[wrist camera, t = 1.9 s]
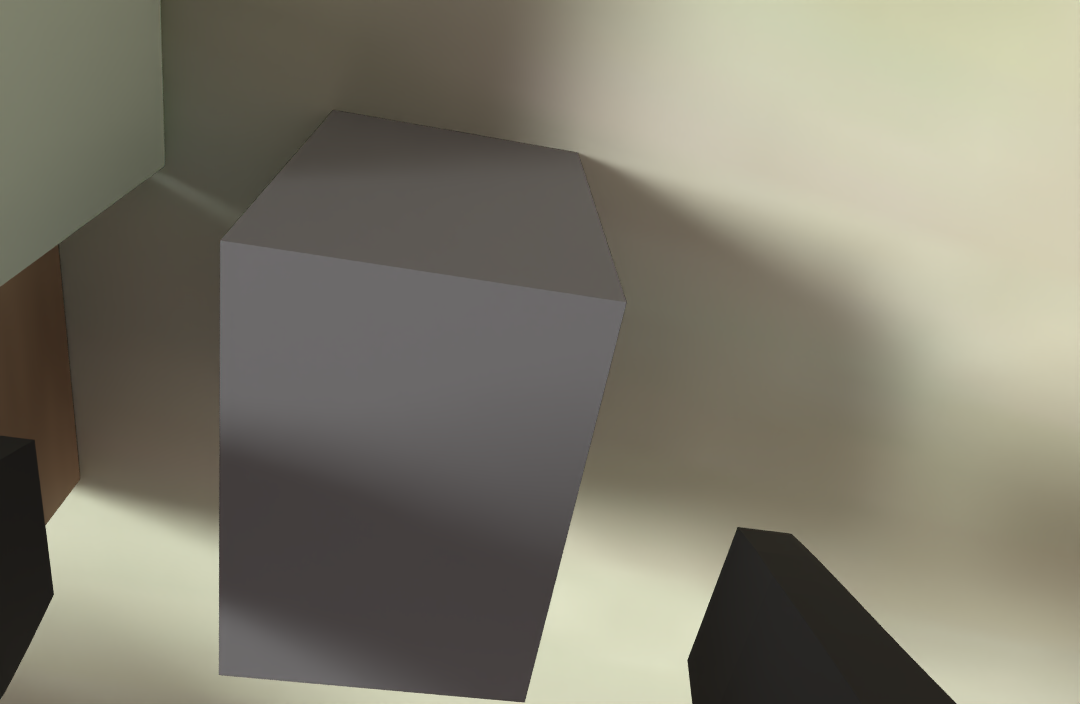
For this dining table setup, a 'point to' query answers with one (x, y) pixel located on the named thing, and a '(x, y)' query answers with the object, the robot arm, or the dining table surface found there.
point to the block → (406, 407)
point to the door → (74, 116)
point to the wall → (39, 375)
